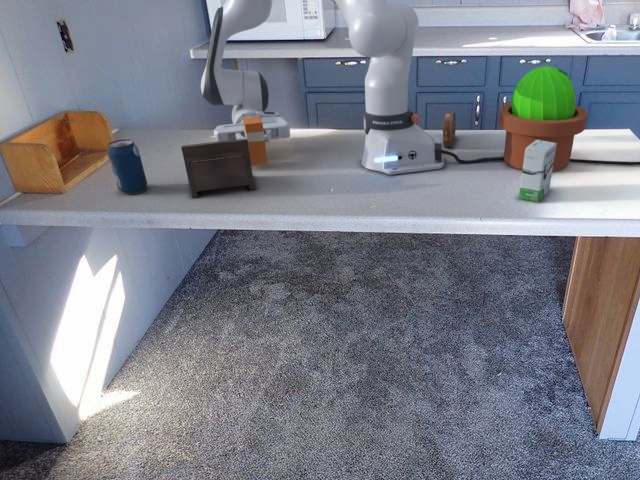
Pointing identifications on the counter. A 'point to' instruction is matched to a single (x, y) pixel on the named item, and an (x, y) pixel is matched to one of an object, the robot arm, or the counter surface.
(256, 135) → the packet
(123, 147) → the soda can
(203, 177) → the brown wooden cabinet
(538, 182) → the ink box
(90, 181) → the counter surface
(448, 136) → the tin
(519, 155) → the potted cactus
